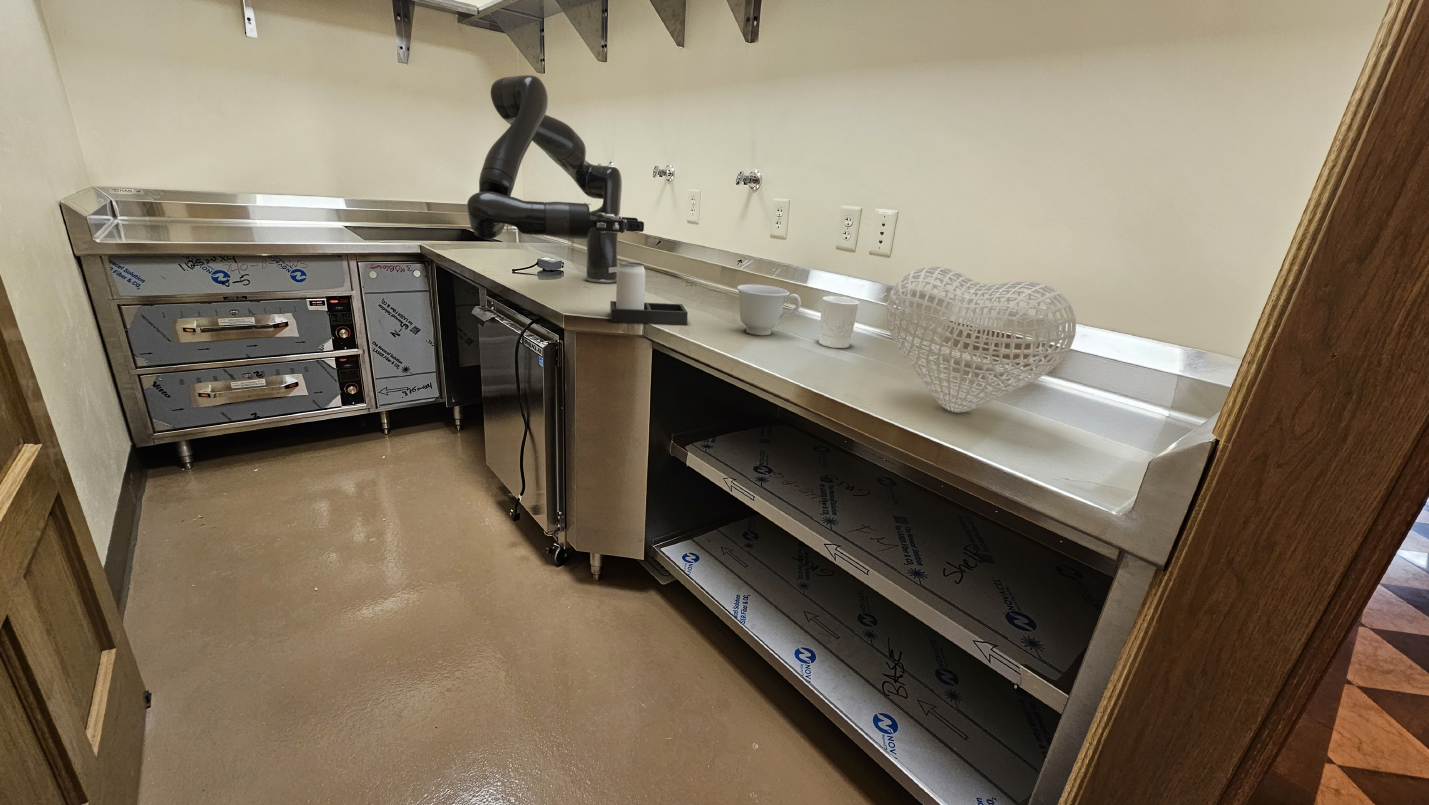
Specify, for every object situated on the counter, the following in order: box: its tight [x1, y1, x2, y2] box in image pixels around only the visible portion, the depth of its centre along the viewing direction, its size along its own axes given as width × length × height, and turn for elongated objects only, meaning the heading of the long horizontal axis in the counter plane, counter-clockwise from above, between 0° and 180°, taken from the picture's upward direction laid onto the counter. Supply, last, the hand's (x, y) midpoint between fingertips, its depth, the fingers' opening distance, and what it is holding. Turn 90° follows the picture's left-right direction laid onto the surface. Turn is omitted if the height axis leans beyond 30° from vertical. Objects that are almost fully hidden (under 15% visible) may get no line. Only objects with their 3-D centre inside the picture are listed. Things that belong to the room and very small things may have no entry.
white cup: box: [818, 295, 860, 349], centre depth 134 cm, size 8×8×10 cm
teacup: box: [736, 283, 802, 336], centre depth 138 cm, size 12×15×10 cm
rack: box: [609, 300, 689, 326], centre depth 144 cm, size 9×17×3 cm, turn 101°
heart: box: [885, 266, 1077, 413], centre depth 96 cm, size 28×16×22 cm, turn 46°
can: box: [615, 261, 646, 310], centre depth 141 cm, size 6×6×12 cm
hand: (640, 224), depth 137 cm, fingers open, 8 cm apart
